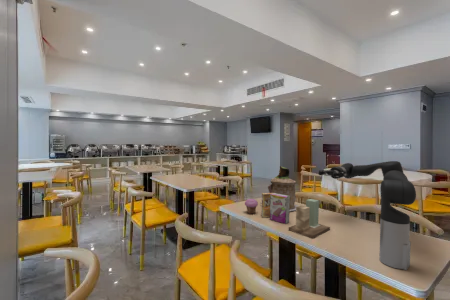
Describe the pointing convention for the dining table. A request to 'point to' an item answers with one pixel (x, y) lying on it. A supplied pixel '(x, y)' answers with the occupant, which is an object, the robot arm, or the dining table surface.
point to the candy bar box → (279, 208)
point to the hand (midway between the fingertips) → (326, 174)
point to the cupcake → (251, 205)
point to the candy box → (266, 204)
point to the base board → (311, 231)
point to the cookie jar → (284, 186)
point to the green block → (313, 211)
